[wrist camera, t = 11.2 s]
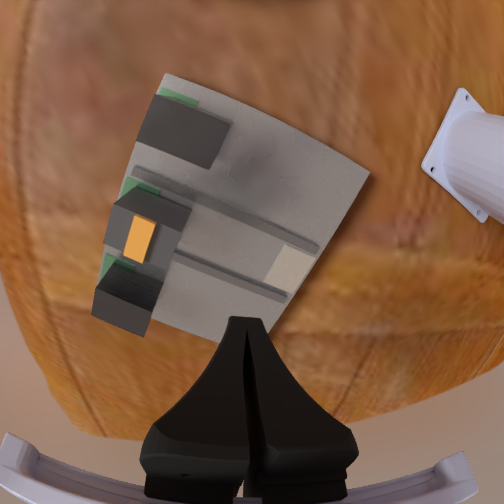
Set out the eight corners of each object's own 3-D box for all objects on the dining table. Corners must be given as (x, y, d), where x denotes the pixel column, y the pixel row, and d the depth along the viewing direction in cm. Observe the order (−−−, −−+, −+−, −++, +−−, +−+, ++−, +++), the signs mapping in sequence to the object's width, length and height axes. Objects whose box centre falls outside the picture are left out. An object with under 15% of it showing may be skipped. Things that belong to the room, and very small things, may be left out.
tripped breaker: (191, 210, 18) (180, 235, 15) (178, 243, 19) (165, 273, 16) (134, 186, 17) (111, 205, 14) (124, 220, 18) (101, 245, 15)
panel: (361, 167, 19) (394, 186, 14) (252, 341, 26) (254, 385, 21) (171, 75, 16) (147, 64, 11) (102, 283, 22) (77, 321, 18)
